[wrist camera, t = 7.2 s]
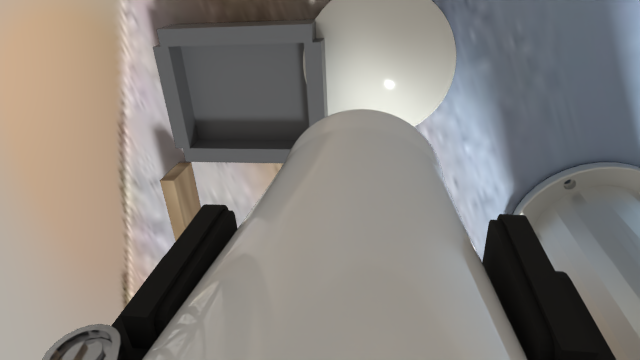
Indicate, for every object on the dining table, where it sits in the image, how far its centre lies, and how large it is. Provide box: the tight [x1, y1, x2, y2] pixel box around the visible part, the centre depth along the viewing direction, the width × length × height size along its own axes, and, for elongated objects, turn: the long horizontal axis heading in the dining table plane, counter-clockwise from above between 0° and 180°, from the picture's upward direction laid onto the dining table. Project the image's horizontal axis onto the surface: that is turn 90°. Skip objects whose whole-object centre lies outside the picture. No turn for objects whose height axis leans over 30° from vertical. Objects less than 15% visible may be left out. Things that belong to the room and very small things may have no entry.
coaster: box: [303, 0, 456, 126], centre depth 31 cm, size 11×11×1 cm
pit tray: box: [153, 19, 328, 163], centre depth 32 cm, size 12×10×2 cm
